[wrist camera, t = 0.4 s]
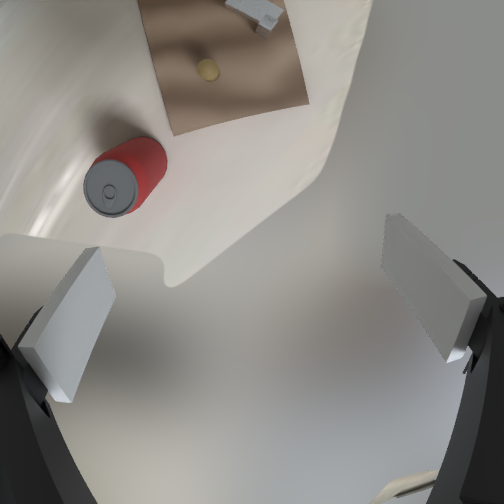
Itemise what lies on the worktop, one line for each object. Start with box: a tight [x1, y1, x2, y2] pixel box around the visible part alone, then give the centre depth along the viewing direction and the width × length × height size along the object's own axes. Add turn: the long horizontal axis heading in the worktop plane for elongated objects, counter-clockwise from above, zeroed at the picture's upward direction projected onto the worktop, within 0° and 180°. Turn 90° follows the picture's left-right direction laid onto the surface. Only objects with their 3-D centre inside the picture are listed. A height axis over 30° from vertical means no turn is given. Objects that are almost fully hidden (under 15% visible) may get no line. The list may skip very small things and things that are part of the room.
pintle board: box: [138, 0, 309, 136], centre depth 27 cm, size 20×16×8 cm
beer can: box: [83, 137, 167, 218], centre depth 32 cm, size 7×7×12 cm
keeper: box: [225, 0, 284, 39], centre depth 27 cm, size 3×5×7 cm, turn 57°
